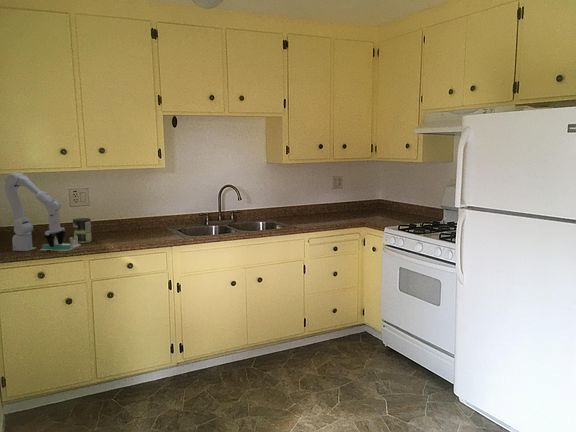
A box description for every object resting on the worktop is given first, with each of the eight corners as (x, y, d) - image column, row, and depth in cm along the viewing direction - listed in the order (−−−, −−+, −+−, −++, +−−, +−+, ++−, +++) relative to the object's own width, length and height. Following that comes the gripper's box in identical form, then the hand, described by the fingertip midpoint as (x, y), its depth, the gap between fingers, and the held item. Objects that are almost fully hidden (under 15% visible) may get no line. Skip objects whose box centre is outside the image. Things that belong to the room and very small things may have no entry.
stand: (50, 247, 268) (49, 237, 267) (58, 245, 275) (57, 235, 274) (73, 248, 266) (73, 238, 265) (80, 245, 273) (80, 235, 272)
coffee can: (77, 243, 279) (76, 220, 277) (71, 241, 286) (70, 219, 284) (94, 241, 286) (93, 219, 284) (88, 239, 294) (86, 217, 292)
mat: (39, 250, 260) (39, 249, 260) (46, 248, 266) (46, 247, 266) (66, 251, 258) (66, 250, 258) (73, 248, 264) (73, 248, 264)
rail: (42, 248, 262) (42, 244, 262) (45, 248, 264) (44, 244, 264) (67, 249, 260) (67, 245, 259) (70, 248, 262) (70, 244, 262)
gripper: (52, 224, 252) (54, 248, 254) (68, 220, 266) (70, 243, 268) (40, 223, 253) (42, 247, 255) (57, 220, 267) (59, 242, 269)
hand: (56, 245), depth 262 cm, fingers open, 7 cm apart
